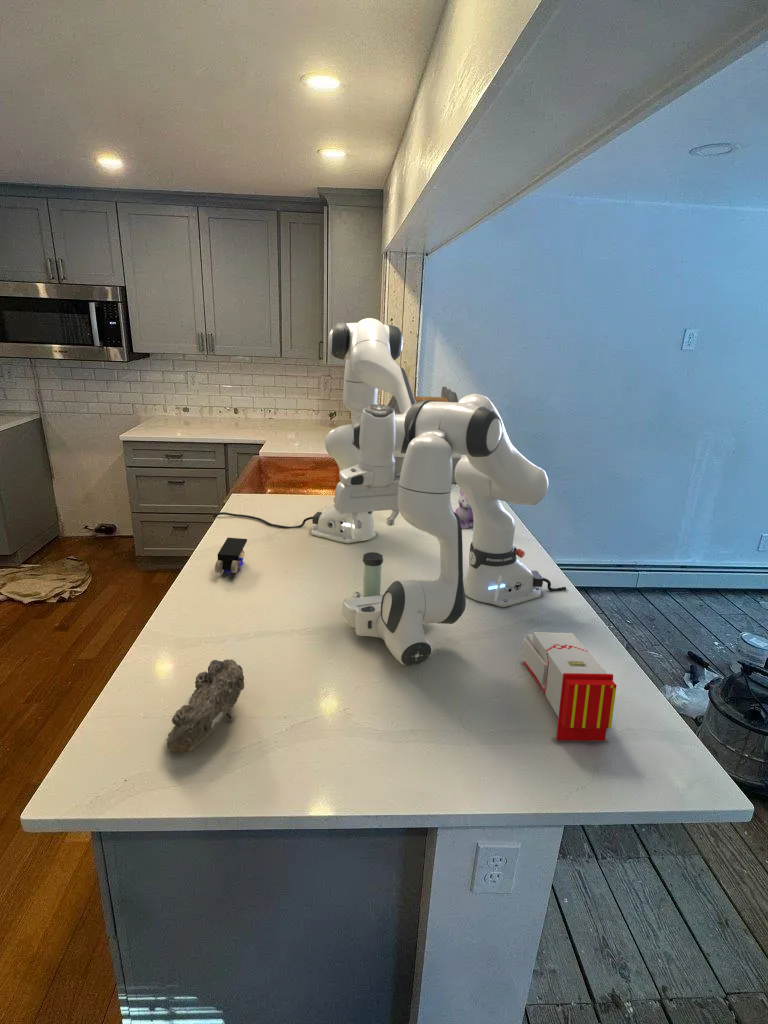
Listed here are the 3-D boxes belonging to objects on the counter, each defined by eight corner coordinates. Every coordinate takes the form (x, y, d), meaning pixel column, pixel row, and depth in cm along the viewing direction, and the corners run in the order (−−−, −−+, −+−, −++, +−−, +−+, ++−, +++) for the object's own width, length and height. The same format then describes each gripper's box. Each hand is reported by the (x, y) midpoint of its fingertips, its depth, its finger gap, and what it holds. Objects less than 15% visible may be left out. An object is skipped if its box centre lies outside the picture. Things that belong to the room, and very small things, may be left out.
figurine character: (238, 584, 162) (249, 557, 175) (236, 562, 158) (247, 536, 172) (215, 584, 161) (227, 556, 175) (212, 561, 158) (225, 535, 171)
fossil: (192, 660, 117) (244, 628, 112) (224, 691, 120) (276, 661, 115) (142, 746, 98) (202, 712, 93) (182, 779, 101) (242, 748, 96)
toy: (568, 616, 131) (626, 681, 101) (562, 669, 133) (617, 748, 104) (515, 615, 130) (559, 680, 101) (511, 669, 133) (551, 747, 104)
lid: (371, 567, 142) (371, 562, 142) (358, 560, 146) (358, 554, 145) (387, 562, 145) (387, 557, 145) (374, 555, 149) (374, 550, 148)
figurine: (462, 530, 205) (466, 491, 200) (446, 521, 213) (450, 483, 208) (483, 527, 209) (487, 488, 204) (467, 518, 218) (471, 480, 213)
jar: (369, 613, 147) (371, 563, 142) (358, 606, 150) (360, 556, 145) (383, 608, 150) (385, 558, 145) (372, 601, 153) (374, 552, 148)
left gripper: (410, 467, 144) (407, 518, 148) (332, 472, 137) (332, 525, 142) (420, 474, 138) (417, 527, 143) (339, 479, 131) (338, 534, 136)
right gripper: (432, 601, 138) (410, 576, 150) (351, 612, 131) (335, 586, 143) (430, 623, 140) (409, 597, 152) (350, 636, 133) (335, 608, 145)
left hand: (374, 526), depth 142 cm, fingers open, 7 cm apart
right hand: (373, 592), depth 148 cm, fingers open, 8 cm apart
